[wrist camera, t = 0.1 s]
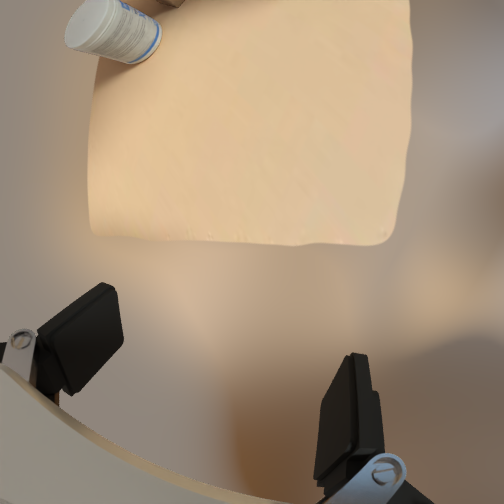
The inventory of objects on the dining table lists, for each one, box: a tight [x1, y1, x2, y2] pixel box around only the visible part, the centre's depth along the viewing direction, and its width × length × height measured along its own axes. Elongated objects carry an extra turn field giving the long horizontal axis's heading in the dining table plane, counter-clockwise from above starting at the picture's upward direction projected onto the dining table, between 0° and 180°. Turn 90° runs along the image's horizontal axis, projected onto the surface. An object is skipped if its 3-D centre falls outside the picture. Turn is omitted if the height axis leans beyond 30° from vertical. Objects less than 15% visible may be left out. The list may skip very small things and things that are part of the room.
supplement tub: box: [64, 0, 162, 64], centre depth 26 cm, size 10×10×15 cm
